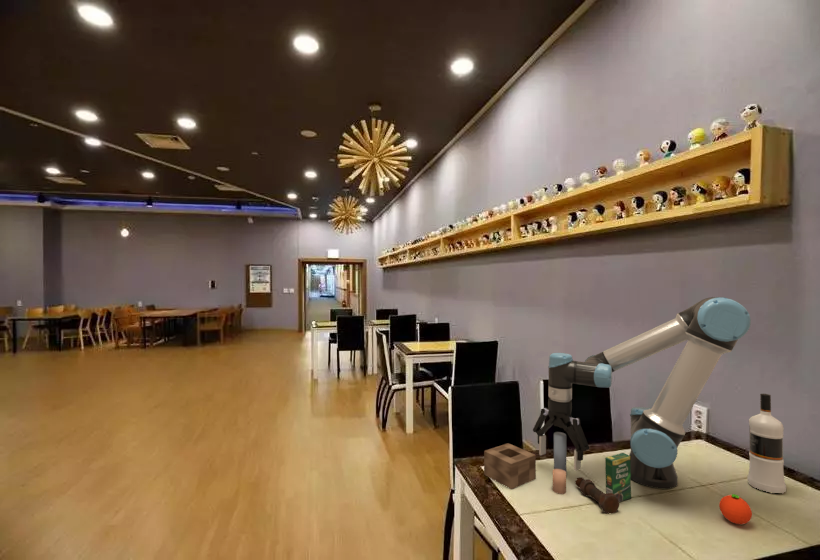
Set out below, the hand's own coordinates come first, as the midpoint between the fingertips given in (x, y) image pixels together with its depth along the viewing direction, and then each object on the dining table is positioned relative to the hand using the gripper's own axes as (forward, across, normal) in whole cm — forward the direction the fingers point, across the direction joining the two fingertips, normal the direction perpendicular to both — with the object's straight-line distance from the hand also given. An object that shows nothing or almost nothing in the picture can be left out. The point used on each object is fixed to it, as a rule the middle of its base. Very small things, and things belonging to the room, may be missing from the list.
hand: (559, 461), depth 135 cm
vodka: (+4, +42, +48) cm, 64 cm away
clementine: (+4, +43, +17) cm, 47 cm away
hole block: (+5, -9, -15) cm, 18 cm away
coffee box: (+5, +19, +1) cm, 20 cm away
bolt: (+5, +15, -4) cm, 17 cm away
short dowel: (+5, +6, -9) cm, 12 cm away
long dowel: (+5, 0, 0) cm, 5 cm away
